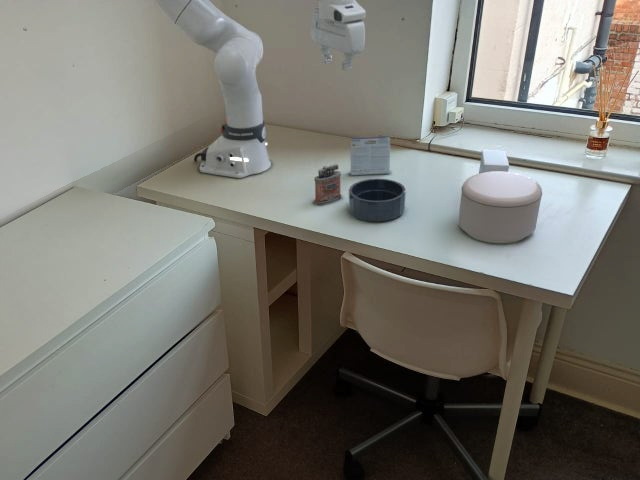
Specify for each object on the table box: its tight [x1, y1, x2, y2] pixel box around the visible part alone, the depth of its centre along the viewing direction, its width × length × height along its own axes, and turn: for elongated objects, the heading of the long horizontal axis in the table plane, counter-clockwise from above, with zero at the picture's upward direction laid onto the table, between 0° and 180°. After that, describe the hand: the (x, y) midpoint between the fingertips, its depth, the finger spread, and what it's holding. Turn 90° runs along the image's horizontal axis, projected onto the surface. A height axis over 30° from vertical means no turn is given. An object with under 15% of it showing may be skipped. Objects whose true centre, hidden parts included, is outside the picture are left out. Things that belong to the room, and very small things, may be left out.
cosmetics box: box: [478, 149, 510, 174], centre depth 178 cm, size 10×6×10 cm, turn 166°
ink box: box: [349, 135, 391, 176], centre depth 195 cm, size 12×2×12 cm, turn 84°
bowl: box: [348, 178, 407, 222], centre depth 176 cm, size 14×14×6 cm
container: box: [458, 171, 543, 244], centre depth 161 cm, size 18×18×12 cm
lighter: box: [313, 163, 342, 206], centre depth 183 cm, size 8×3×10 cm, turn 117°
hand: (336, 65), depth 174 cm, fingers open, 8 cm apart
